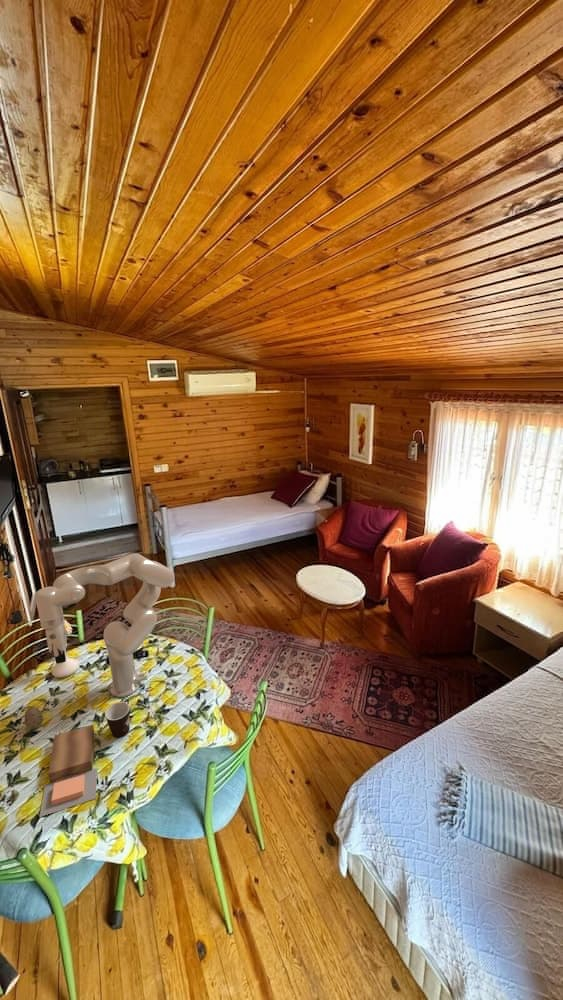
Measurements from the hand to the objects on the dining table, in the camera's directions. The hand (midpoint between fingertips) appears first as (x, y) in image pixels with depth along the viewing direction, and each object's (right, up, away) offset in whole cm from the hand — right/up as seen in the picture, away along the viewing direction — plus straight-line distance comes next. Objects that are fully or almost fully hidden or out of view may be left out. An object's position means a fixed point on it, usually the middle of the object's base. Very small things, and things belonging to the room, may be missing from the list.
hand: (61, 661), depth 154 cm
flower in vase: (-16, -18, +34) cm, 42 cm away
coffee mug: (+22, -28, +3) cm, 36 cm away
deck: (+9, -31, -8) cm, 33 cm away
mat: (+14, -35, -20) cm, 43 cm away
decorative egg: (-12, -27, +4) cm, 30 cm away
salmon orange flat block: (+14, -33, -21) cm, 41 cm away
